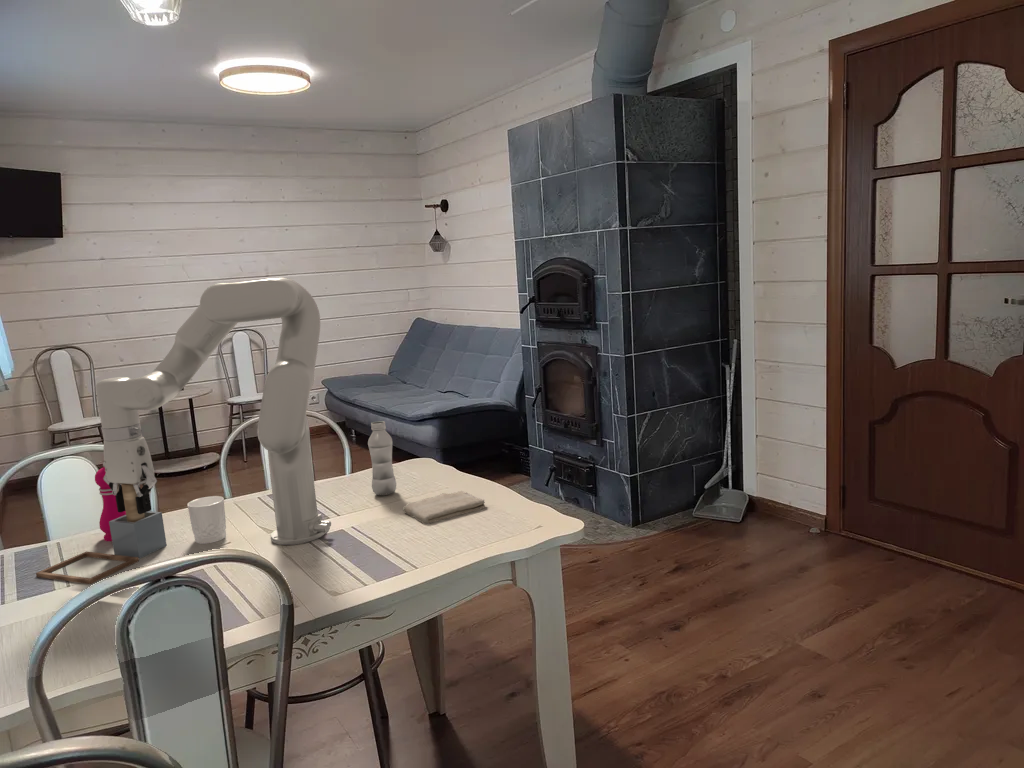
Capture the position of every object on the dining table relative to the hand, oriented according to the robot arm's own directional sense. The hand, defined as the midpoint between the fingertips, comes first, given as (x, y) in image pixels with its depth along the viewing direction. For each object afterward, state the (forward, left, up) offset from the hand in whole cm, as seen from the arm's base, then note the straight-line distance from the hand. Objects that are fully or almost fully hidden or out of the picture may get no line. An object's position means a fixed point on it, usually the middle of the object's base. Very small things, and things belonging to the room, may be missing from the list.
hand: (134, 510), depth 167 cm
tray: (+3, +11, -10) cm, 15 cm away
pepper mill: (+14, -6, -11) cm, 19 cm away
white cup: (-11, -10, -11) cm, 18 cm away
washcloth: (-57, -41, -11) cm, 71 cm away
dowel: (0, 0, -9) cm, 9 cm away
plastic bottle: (-34, -50, -11) cm, 61 cm away
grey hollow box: (0, 0, -10) cm, 10 cm away
